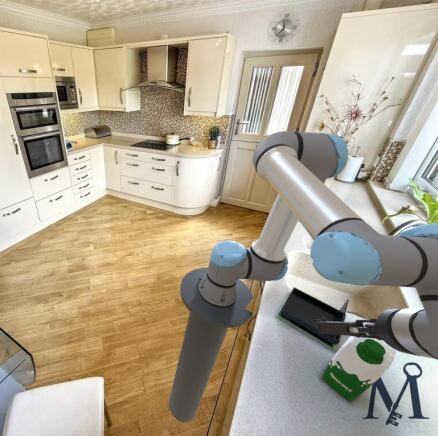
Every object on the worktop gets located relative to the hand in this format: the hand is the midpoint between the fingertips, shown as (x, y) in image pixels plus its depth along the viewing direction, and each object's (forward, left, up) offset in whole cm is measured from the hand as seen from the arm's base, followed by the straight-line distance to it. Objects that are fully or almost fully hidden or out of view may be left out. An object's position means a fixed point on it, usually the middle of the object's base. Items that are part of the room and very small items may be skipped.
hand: (347, 324), depth 59 cm
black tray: (-5, +20, -22) cm, 30 cm away
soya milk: (+7, +2, -22) cm, 23 cm away
